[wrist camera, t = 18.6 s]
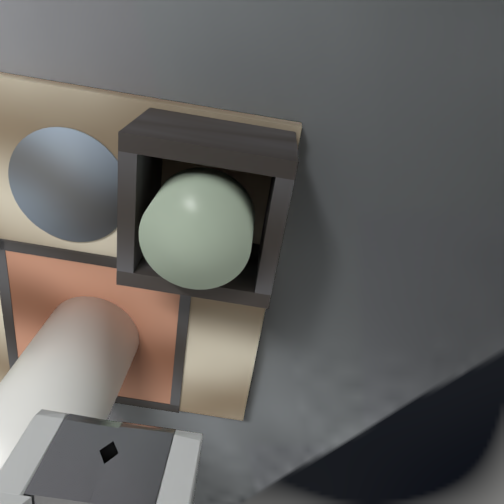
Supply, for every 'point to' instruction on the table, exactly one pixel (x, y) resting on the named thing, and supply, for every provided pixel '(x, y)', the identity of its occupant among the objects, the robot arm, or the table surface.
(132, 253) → the picture board
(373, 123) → the table surface
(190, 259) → the button
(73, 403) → the marker
